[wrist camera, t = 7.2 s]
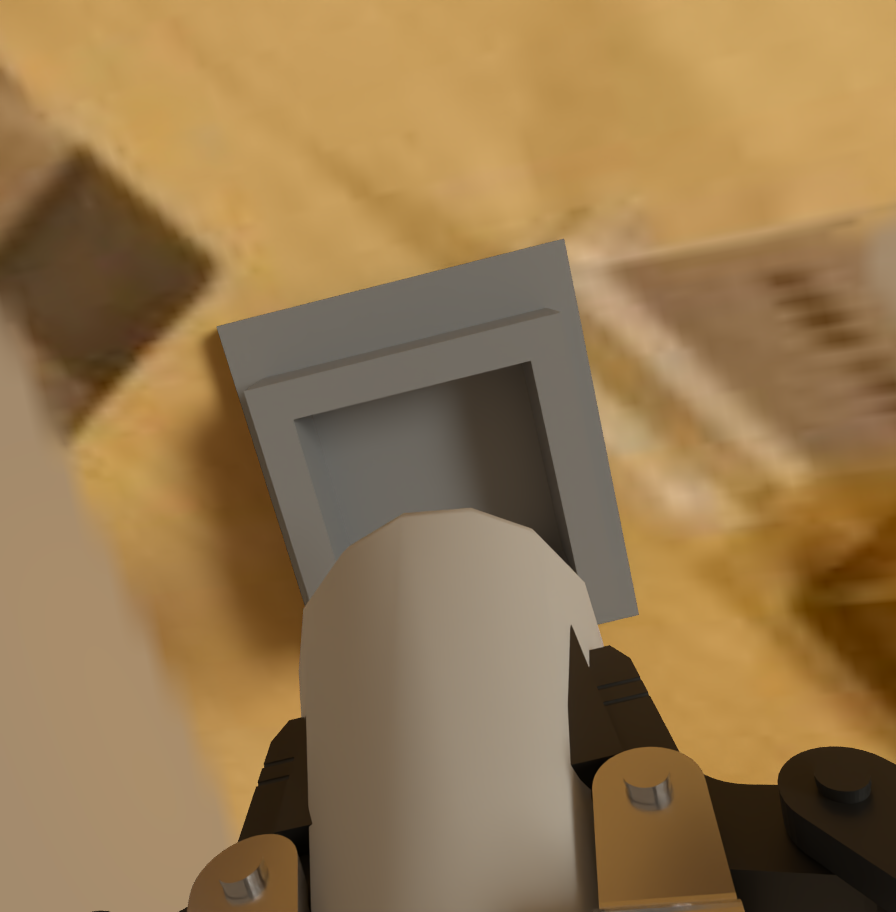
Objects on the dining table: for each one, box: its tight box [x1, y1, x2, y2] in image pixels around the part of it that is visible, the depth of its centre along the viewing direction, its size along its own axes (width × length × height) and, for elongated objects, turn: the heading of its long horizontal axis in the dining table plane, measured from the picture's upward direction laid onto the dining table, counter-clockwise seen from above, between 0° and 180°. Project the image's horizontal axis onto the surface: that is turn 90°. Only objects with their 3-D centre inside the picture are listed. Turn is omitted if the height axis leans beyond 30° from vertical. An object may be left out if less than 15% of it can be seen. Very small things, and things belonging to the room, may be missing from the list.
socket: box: [217, 239, 639, 625], centre depth 26 cm, size 14×12×4 cm
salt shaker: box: [299, 508, 603, 912], centre depth 10 cm, size 6×6×13 cm
